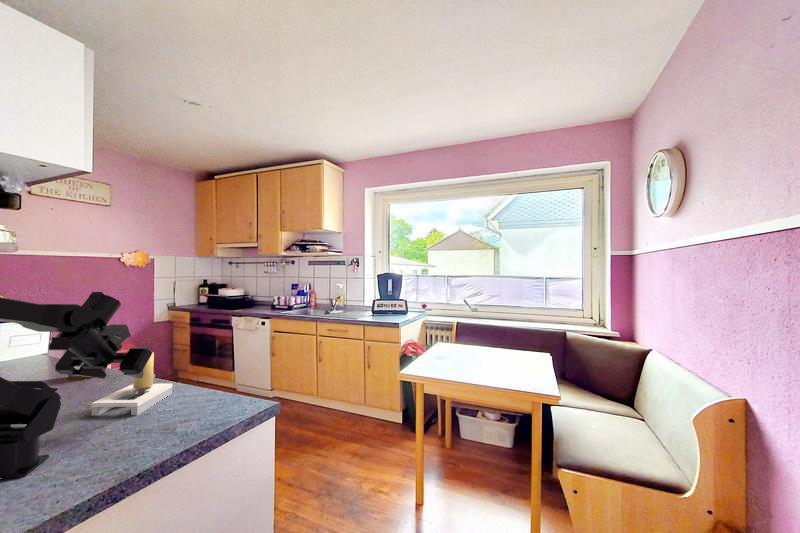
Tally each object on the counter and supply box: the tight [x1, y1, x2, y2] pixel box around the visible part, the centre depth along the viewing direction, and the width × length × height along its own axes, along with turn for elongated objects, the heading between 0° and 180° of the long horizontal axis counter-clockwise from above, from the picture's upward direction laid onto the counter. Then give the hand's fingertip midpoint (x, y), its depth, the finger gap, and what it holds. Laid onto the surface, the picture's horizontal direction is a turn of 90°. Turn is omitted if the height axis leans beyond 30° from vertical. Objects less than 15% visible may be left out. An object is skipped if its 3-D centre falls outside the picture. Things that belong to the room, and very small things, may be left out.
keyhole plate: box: [91, 383, 173, 417], centre depth 89 cm, size 14×11×3 cm
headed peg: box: [132, 351, 155, 400], centre depth 92 cm, size 4×4×13 cm
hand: (123, 376), depth 85 cm, fingers open, 9 cm apart
